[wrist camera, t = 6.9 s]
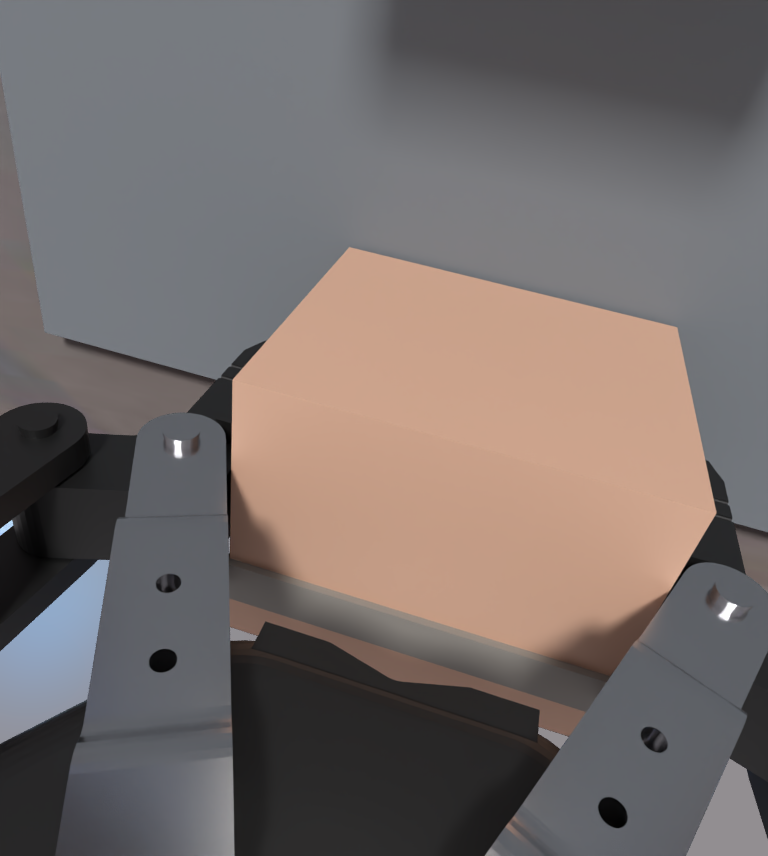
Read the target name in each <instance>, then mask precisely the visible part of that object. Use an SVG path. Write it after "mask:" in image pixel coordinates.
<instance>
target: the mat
mask: <svg viewBox="0 0 768 856" xmlns="http://www.w3.org/2000/svg"><path fill="white" fill-rule="evenodd" d="M0 74H1V80H2V85H3V91H4V97H5V103H6V109H7V115H8V120H9V126H10V132H11V138H12V144H13V150H14V155H15V161H16V167H17V173H18V179H19V185H20V190H21V196H22V202H23V208H24V214H25V220H26V225H27V231H28V237H29V243H30V249H31V255H32V260H33V266H34V272H35V278H36V284H37V290H38V296H39V301H40V307H41V313H42V319H43V325H44V331H45V333H49V334H53V335H56V336H60V337H63V338H67V339H71V340H74V341H78V342H82V343H85V344H89V345H92V346H96V347H100V348H103V349H107V350H110V351H114V352H118V353H121V354H125V355H129V356H132V357H136V358H139V359H143V360H147V361H150V362H154V363H157V364H161V365H165V366H168V367H172V368H176V369H179V370H183V371H186V372H190V373H194V374H197V375H201V376H204V377H208V378H212V379H215V380H217V379H218V378H221V375H222V374H223V373H224V372H225V370H226V369H227V368H228V367H231V365H232V363H233V362H234V361H235V359H236V358H237V357H238V356H239V355H240V354H241V353H242V352H243V351H244V350H245V349H248V348H250V347H252V346H254V345H256V344H259V343H261V342H263V341H267V340H268V339H269V338H270V337H271V336H272V334H273V333H274V332H275V331H276V330H277V329H278V328H279V326H280V325H281V324H282V323H283V322H284V321H285V320H286V319H287V317H288V316H289V315H290V314H291V313H292V312H293V311H294V309H295V308H296V307H297V306H298V305H299V304H300V303H301V301H302V300H303V299H304V298H305V297H306V296H307V295H308V294H309V292H310V291H311V290H312V289H313V288H314V287H315V286H316V284H317V283H318V282H319V281H320V280H321V279H322V278H323V277H324V275H325V274H326V273H327V272H328V271H329V270H330V269H331V267H332V266H333V265H334V264H335V263H336V262H337V261H338V259H339V258H340V257H341V256H342V255H343V254H344V253H345V252H346V250H347V249H348V248H349V247H351V248H355V249H359V250H363V251H367V252H371V253H375V254H380V255H384V256H388V257H392V258H396V259H400V260H404V261H408V262H412V263H416V264H420V265H425V266H429V267H433V268H437V269H441V270H445V271H449V272H453V273H457V274H461V275H465V276H470V277H474V278H478V279H482V280H486V281H490V282H494V283H498V284H502V285H506V286H511V287H515V288H519V289H523V290H527V291H531V292H535V293H539V294H543V295H547V296H551V297H556V298H560V299H564V300H568V301H572V302H576V303H580V304H584V305H588V306H592V307H596V308H601V309H605V310H609V311H613V312H617V313H621V314H625V315H629V316H633V317H637V318H642V319H646V320H650V321H654V322H658V323H662V324H666V325H670V326H674V327H677V328H678V333H679V338H680V343H681V347H682V352H683V357H684V362H685V366H686V371H687V376H688V381H689V385H690V390H691V395H692V399H693V404H694V409H695V414H696V418H697V423H698V428H699V433H700V437H701V442H702V447H703V451H704V456H705V460H707V461H709V462H710V464H711V465H712V466H713V468H714V469H715V470H716V472H717V473H718V474H719V475H720V477H721V478H722V479H723V481H724V483H725V488H726V492H727V496H728V500H729V502H728V505H729V506H730V509H731V513H732V522H734V523H736V524H740V525H743V526H747V527H751V528H754V529H758V530H761V531H765V532H768V0H0Z"/></svg>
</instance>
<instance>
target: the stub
mask: <svg viewBox="0 0 768 856" xmlns="http://www.w3.org/2000/svg"><path fill="white" fill-rule="evenodd" d="M715 515H716V508H715V504H714V499H713V494H712V489H711V485H710V480H709V475H708V470H707V466H706V461H705V456H704V451H703V447H702V442H701V437H700V433H699V428H698V423H697V418H696V414H695V409H694V404H693V399H692V395H691V390H690V385H689V381H688V376H687V371H686V366H685V362H684V357H683V352H682V347H681V343H680V338H679V333H678V328H677V327H674V326H670V325H666V324H662V323H658V322H654V321H650V320H646V319H642V318H637V317H633V316H629V315H625V314H621V313H617V312H613V311H609V310H605V309H601V308H596V307H592V306H588V305H584V304H580V303H576V302H572V301H568V300H564V299H560V298H556V297H551V296H547V295H543V294H539V293H535V292H531V291H527V290H523V289H519V288H515V287H511V286H506V285H502V284H498V283H494V282H490V281H486V280H482V279H478V278H474V277H470V276H465V275H461V274H457V273H453V272H449V271H445V270H441V269H437V268H433V267H429V266H425V265H420V264H416V263H412V262H408V261H404V260H400V259H396V258H392V257H388V256H384V255H380V254H375V253H371V252H367V251H363V250H359V249H355V248H351V247H349V248H348V249H347V250H346V252H345V253H344V254H343V255H342V256H341V257H340V258H339V259H338V261H337V262H336V263H335V264H334V265H333V266H332V267H331V269H330V270H329V271H328V272H327V273H326V274H325V275H324V277H323V278H322V279H321V280H320V281H319V282H318V283H317V284H316V286H315V287H314V288H313V289H312V290H311V291H310V292H309V294H308V295H307V296H306V297H305V298H304V299H303V300H302V301H301V303H300V304H299V305H298V306H297V307H296V308H295V309H294V311H293V312H292V313H291V314H290V315H289V316H288V317H287V319H286V320H285V321H284V322H283V323H282V324H281V325H280V326H279V328H278V329H277V330H276V331H275V332H274V333H273V334H272V336H271V337H270V338H269V339H268V340H267V341H266V342H265V343H264V345H263V346H262V347H261V348H260V349H259V350H258V351H257V353H256V354H255V355H254V356H253V357H252V358H251V359H250V360H249V362H248V363H247V364H246V365H245V366H244V367H243V368H242V370H241V371H240V372H239V373H238V374H237V375H236V376H235V378H234V379H233V383H232V449H231V515H230V553H229V607H230V627H232V628H235V629H238V630H241V631H244V632H247V633H250V634H253V635H256V636H258V635H259V633H260V631H261V629H262V627H263V625H264V623H265V621H266V622H269V623H272V624H275V625H279V626H282V627H285V628H288V629H291V630H294V631H297V632H300V633H303V634H306V635H309V636H313V637H316V638H319V639H322V640H325V641H328V642H331V643H332V644H334V645H336V646H337V647H339V648H341V649H342V650H344V651H346V652H347V653H349V654H351V655H352V656H354V657H355V658H357V659H359V660H360V661H362V662H364V663H365V664H367V665H369V666H370V667H372V668H374V669H375V670H377V671H379V672H380V673H382V674H384V675H385V676H387V677H389V678H391V679H393V680H396V681H401V682H412V683H424V684H436V685H448V686H460V687H470V688H473V689H476V690H480V691H483V692H486V693H489V694H492V695H495V696H498V697H501V698H504V699H507V700H510V701H514V702H517V703H520V704H523V705H526V706H529V707H532V708H535V709H538V710H540V715H539V727H541V728H544V729H547V730H550V731H553V732H556V733H559V734H562V735H565V736H568V737H569V736H570V734H571V733H572V732H573V730H574V729H575V727H576V726H577V724H578V723H579V721H580V720H581V719H582V717H583V716H584V714H585V713H586V711H587V710H588V708H589V707H590V706H591V704H592V703H593V701H594V700H595V698H596V697H597V695H598V694H599V693H600V691H601V690H602V688H603V687H604V685H605V684H606V682H607V681H608V679H609V678H610V677H611V675H612V674H613V672H614V671H615V669H616V668H617V666H618V665H619V664H620V662H621V661H622V659H623V658H624V656H625V655H626V653H627V652H628V651H629V649H630V648H631V646H632V645H633V643H634V642H635V641H636V640H637V639H639V638H640V637H641V635H642V634H643V632H644V631H645V629H646V628H647V626H648V625H649V623H650V622H651V620H652V619H653V618H654V616H655V615H656V613H657V611H658V610H659V608H660V606H661V605H662V603H663V601H664V600H665V598H666V596H667V595H668V593H669V591H670V590H671V588H672V586H673V585H674V583H675V581H676V580H677V578H678V576H679V575H680V573H681V571H682V570H683V568H684V566H685V565H686V563H687V561H688V560H689V558H690V556H691V555H692V553H693V551H694V550H695V548H696V546H697V545H698V543H699V541H700V540H701V538H702V536H703V535H704V533H705V531H706V530H707V528H708V526H709V525H710V523H711V522H712V520H713V518H714V517H715Z"/></svg>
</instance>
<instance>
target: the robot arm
mask: <svg viewBox="0 0 768 856" xmlns="http://www.w3.org/2000/svg"><path fill="white" fill-rule="evenodd" d="M265 342H266V341H263V342H261V343H259V344H256V345H254V346H252V347H250V348H248V349H245V350H244V351H243V352H242V353H241V354H240V355H239V356H238V357H237V358H236V359H235V361H234V362H233V363H232V365H231V367H228V368H227V369H226V370H225V372H224V373H223V374H222V375H221V378H218V379H217V380H216V381H215V382H214V384H213V385H212V386H211V387H210V388H209V389H208V390H207V391H206V392H205V393H204V395H203V396H202V397H201V398H200V399H199V400H198V401H197V402H196V403H195V404H194V405H193V407H192V408H191V409H190V410H189V411H188V412H187V413H172V414H167V415H163V416H160V417H157V418H155V419H153V420H151V421H149V422H148V423H147V424H145V425H144V426H143V427H142V428H141V429H140V431H139V433H138V435H134V436H130V435H109V434H92V433H88V429H87V422H86V419H85V417H84V416H83V414H82V413H81V412H79V411H78V410H77V409H75V408H73V407H70V406H67V405H64V404H59V403H34V404H29V405H24V406H21V407H18V408H15V409H12V410H10V411H8V412H6V413H4V414H3V415H1V416H0V528H2V527H3V526H4V525H5V524H7V523H8V522H9V521H11V520H12V521H13V525H14V526H12V527H11V528H10V529H9V530H7V531H6V532H5V533H3V534H2V535H1V536H0V651H1V650H2V649H3V648H4V647H5V646H6V645H7V644H8V643H10V642H11V641H12V640H13V639H14V638H15V637H16V636H17V635H18V634H19V633H20V632H21V631H22V630H23V629H24V628H26V627H27V626H28V625H29V624H30V623H31V622H32V621H33V620H34V619H35V618H36V617H37V616H39V615H40V614H41V613H42V612H43V611H44V610H45V609H46V608H47V607H48V606H49V605H50V604H51V603H53V601H55V600H56V599H57V598H58V597H59V596H60V595H61V594H62V593H63V592H64V591H65V590H66V589H68V588H69V587H70V586H71V585H72V584H73V583H74V582H75V581H76V580H77V579H78V578H79V577H81V575H83V574H84V573H85V572H86V571H87V570H88V569H89V568H90V567H91V566H92V565H93V564H94V563H95V562H96V561H97V560H110V562H109V568H108V574H107V580H106V587H105V593H104V599H103V605H102V611H101V618H100V624H99V630H98V636H97V643H96V650H95V655H94V662H93V668H92V675H91V681H90V687H89V693H88V699H87V700H86V701H84V702H82V703H80V704H78V705H76V706H74V707H72V708H70V709H68V710H66V711H64V712H62V713H60V714H58V715H56V716H54V717H52V718H50V719H48V720H46V721H44V722H42V723H40V724H38V725H36V726H34V727H32V728H31V729H28V730H27V731H24V732H23V733H21V734H19V735H17V736H15V737H13V738H11V739H9V740H7V741H5V742H3V743H1V744H0V856H686V854H687V852H688V850H689V848H690V845H691V843H692V841H693V839H694V836H695V834H696V832H697V830H698V827H699V825H700V823H701V820H702V818H703V816H704V814H705V811H706V810H707V807H708V805H709V803H710V800H711V798H712V796H713V794H714V792H715V789H716V787H717V785H718V782H719V780H720V778H721V776H722V774H723V771H724V769H725V767H726V765H727V762H728V760H729V758H730V759H732V760H733V761H735V762H736V763H738V764H740V765H741V766H743V767H744V768H746V769H747V772H748V776H749V780H750V783H751V787H752V790H753V793H754V796H755V799H756V803H757V806H758V809H759V812H760V816H761V819H762V822H763V825H764V828H765V832H766V834H767V838H768V593H767V592H766V591H765V590H764V589H763V588H762V587H761V586H760V585H759V584H758V583H757V582H755V581H754V580H753V579H751V578H750V577H748V576H747V575H746V574H745V569H744V565H743V561H742V556H741V552H740V548H739V543H738V539H737V535H736V531H735V526H734V522H732V513H731V509H730V506H729V505H728V502H729V500H728V496H727V492H726V488H725V483H724V481H723V479H722V478H721V477H720V475H719V474H718V473H717V472H716V470H715V469H714V468H713V466H712V465H711V464H710V462H709V461H707V460H705V461H706V466H707V470H708V475H709V480H710V485H711V489H712V494H713V499H714V504H715V508H716V515H715V517H714V518H713V520H712V522H711V523H710V525H709V526H708V528H707V530H706V531H705V533H704V535H703V536H702V538H701V540H700V541H699V543H698V545H697V546H696V548H695V550H694V551H693V553H692V555H691V556H690V558H689V560H688V561H687V563H686V565H685V566H684V568H683V570H682V571H681V573H680V575H679V576H678V578H677V580H676V581H675V583H674V585H673V586H672V588H671V590H670V591H669V593H668V595H667V596H666V598H665V600H664V601H663V603H662V605H661V606H660V608H659V610H658V611H657V613H656V615H655V616H654V618H653V619H652V620H651V622H650V623H649V625H648V626H647V628H646V629H645V631H644V632H643V634H642V635H641V637H640V638H639V639H637V640H636V641H635V642H634V643H633V645H632V646H631V648H630V649H629V651H628V652H627V653H626V655H625V656H624V658H623V659H622V661H621V662H620V664H619V665H618V666H617V668H616V669H615V671H614V672H613V674H612V675H611V677H610V678H609V679H608V681H607V682H606V684H605V685H604V687H603V688H602V690H601V691H600V693H599V694H598V695H597V697H596V698H595V700H594V701H593V703H592V704H591V706H590V707H589V708H588V710H587V711H586V713H585V714H584V716H583V717H582V719H581V720H580V721H579V723H578V724H577V726H576V727H575V729H574V730H573V732H572V733H571V734H570V736H569V738H568V739H567V740H566V742H565V743H564V745H563V746H562V747H561V749H559V748H558V747H556V746H555V745H554V744H553V743H551V742H550V741H549V740H547V739H546V738H544V737H542V736H541V735H539V734H538V727H539V715H540V710H538V709H535V708H532V707H529V706H526V705H523V704H520V703H517V702H514V701H510V700H507V699H504V698H501V697H498V696H495V695H492V694H489V693H486V692H483V691H480V690H476V689H473V688H470V687H460V686H448V685H436V684H424V683H412V682H401V681H396V680H393V679H391V678H389V677H387V676H385V675H384V674H382V673H380V672H379V671H377V670H375V669H374V668H372V667H370V666H369V665H367V664H365V663H364V662H362V661H360V660H359V659H357V658H355V657H354V656H352V655H351V654H349V653H347V652H346V651H344V650H342V649H341V648H339V647H337V646H336V645H334V644H332V643H331V642H328V641H325V640H322V639H319V638H316V637H313V636H309V635H306V634H303V633H300V632H297V631H294V630H291V629H288V628H285V627H282V626H279V625H275V624H272V623H269V622H266V621H265V623H264V625H263V627H262V629H261V631H260V633H259V635H258V637H257V639H256V641H246V640H244V641H230V607H229V553H228V552H229V551H228V539H229V537H230V515H231V449H232V383H233V379H234V378H235V376H236V375H237V374H238V373H239V372H240V371H241V370H242V368H243V367H244V366H245V365H246V364H247V363H248V362H249V360H250V359H251V358H252V357H253V356H254V355H255V354H256V353H257V351H258V350H259V349H260V348H261V347H262V346H263V345H264V343H265Z"/></svg>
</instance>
